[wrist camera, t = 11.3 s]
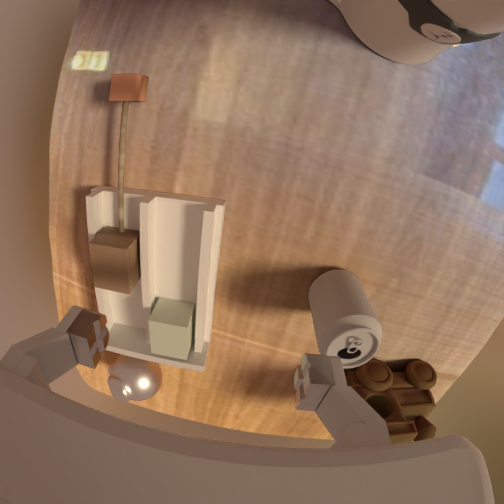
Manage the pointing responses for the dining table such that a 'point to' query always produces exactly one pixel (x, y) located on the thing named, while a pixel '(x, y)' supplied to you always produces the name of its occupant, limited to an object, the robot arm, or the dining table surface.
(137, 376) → the grey round lump
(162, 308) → the sage block
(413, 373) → the wooden toy train
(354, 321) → the can
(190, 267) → the lane shelf
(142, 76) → the brown block pusher rod
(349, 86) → the dining table surface
